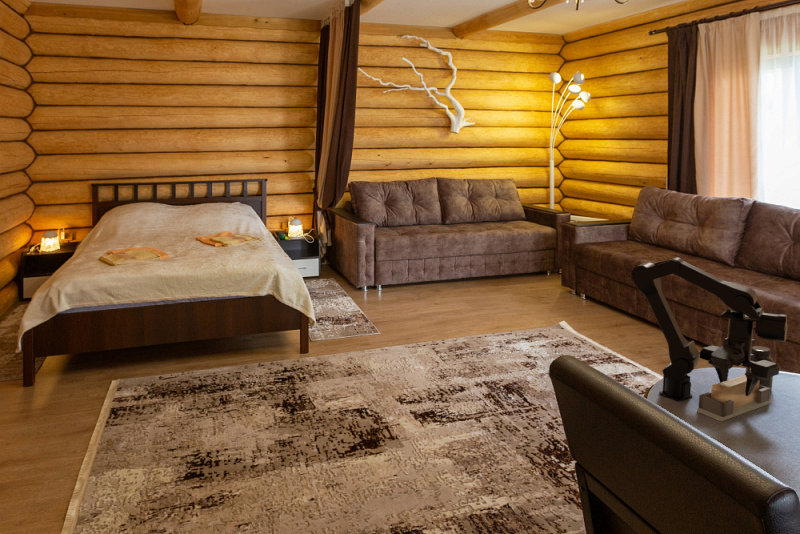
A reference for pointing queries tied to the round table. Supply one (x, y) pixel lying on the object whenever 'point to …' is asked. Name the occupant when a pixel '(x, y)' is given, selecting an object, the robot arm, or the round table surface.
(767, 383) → the supplement bottle
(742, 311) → the robot arm
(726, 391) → the slat
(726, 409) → the slat rail
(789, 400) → the round table surface
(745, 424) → the round table surface
